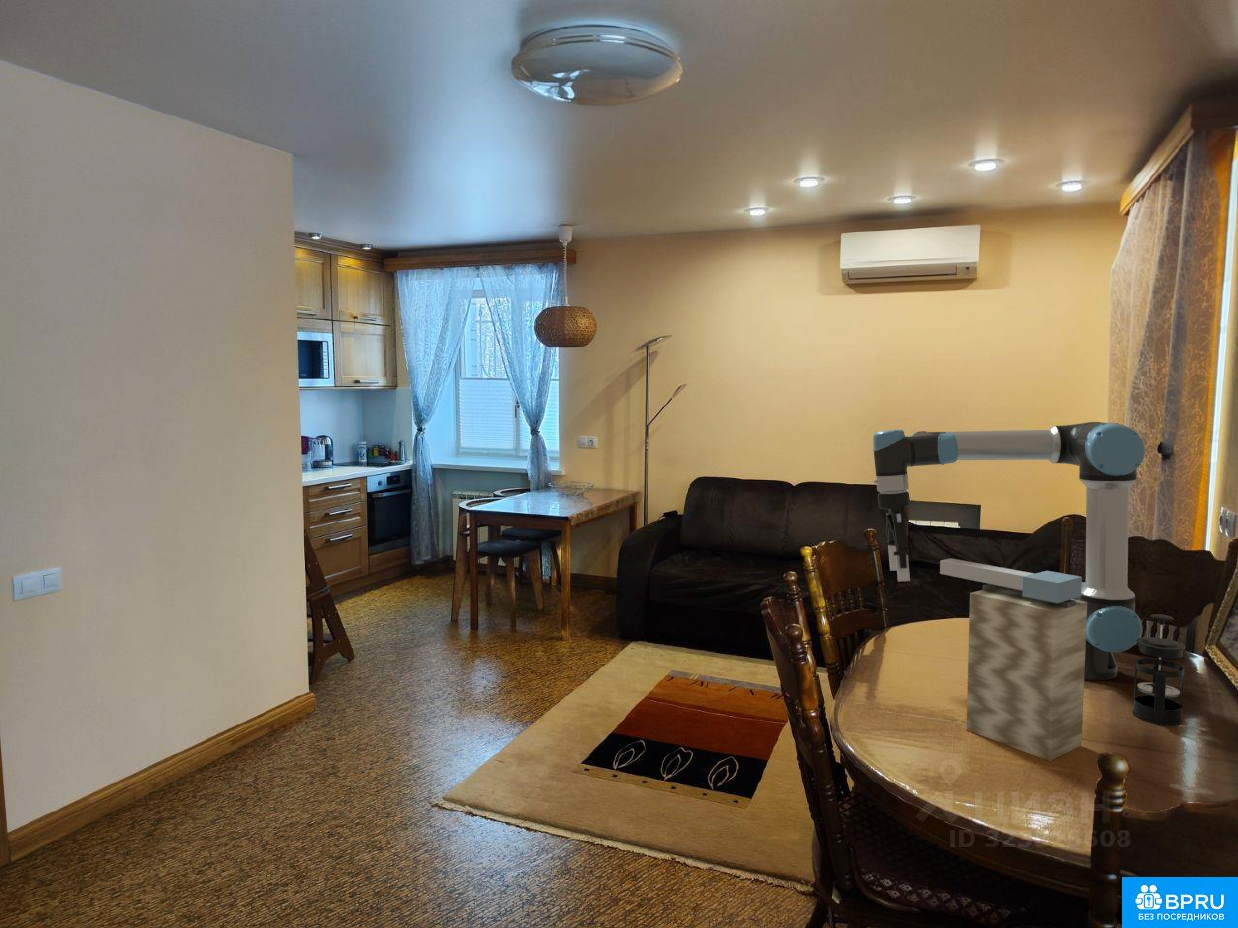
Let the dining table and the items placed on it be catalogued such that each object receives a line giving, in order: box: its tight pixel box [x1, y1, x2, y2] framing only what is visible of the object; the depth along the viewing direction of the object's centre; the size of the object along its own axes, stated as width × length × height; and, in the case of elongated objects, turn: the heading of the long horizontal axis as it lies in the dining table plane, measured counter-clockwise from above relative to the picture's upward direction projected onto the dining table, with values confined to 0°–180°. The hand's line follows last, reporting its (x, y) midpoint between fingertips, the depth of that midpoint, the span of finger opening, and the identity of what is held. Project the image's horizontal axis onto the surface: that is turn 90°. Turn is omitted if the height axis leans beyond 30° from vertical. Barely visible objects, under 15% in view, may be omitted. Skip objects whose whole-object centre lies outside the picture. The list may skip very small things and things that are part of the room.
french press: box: [1131, 613, 1187, 727], centre depth 176 cm, size 12×9×23 cm
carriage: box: [939, 557, 1083, 603], centre depth 169 cm, size 28×9×4 cm, turn 33°
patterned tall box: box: [966, 583, 1087, 762], centre depth 166 cm, size 18×12×31 cm, turn 33°
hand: (899, 575), depth 201 cm, fingers open, 13 cm apart
